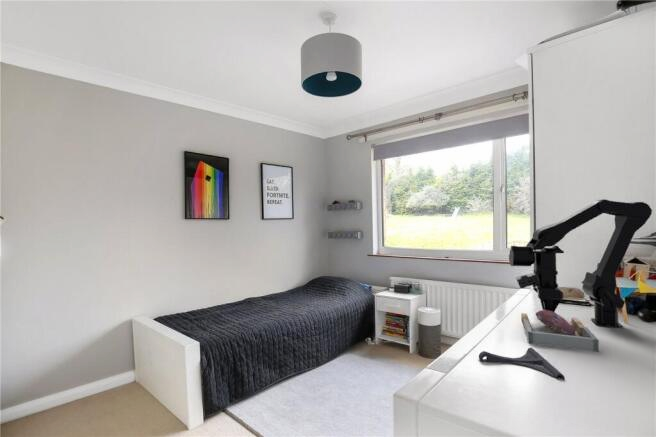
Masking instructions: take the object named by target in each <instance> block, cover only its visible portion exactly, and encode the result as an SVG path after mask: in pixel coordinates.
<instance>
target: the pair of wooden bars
mask: <svg viewBox="0 0 656 437" xmlns="http://www.w3.org/2000/svg"><path fill="white" fill-rule="evenodd" d="M520 316H521V319H520V320H521V323H522V327H523V330H524V331H525V323H524V321H528V322H529V324H530V325H531V322H530V319H529V316H528V314H527V313H524V312H521V315H520ZM571 325H572V326H573V327H574V328H575V330H576V332H575V333H577V334H578V335H579V337H583V327H586V326H585V325H584V324H583V323H582V322H581V321H580V319H579V318H578V317H571Z"/></svg>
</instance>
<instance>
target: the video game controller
mask: <svg viewBox="0 0 656 437" xmlns="http://www.w3.org/2000/svg"><path fill="white" fill-rule="evenodd" d="M535 316H536V318H537V320H538V321H540V322H541V323H543V325H544V326H545V327H546V328H547V329H553V331H555V332H556V333H559V332H561V331H563V332H564V333H566V334H568V335H575V334H576V333H577V332H576V330H575V328H574V327H573V326H572V324H570V323H569V322H568V321H567V320H566V319H565V318H564V317H563V316H561V315H560V314H557V313H556V312H553V311H550V310H544V309H542V310H539V311H537V312H535Z"/></svg>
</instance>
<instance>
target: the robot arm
mask: <svg viewBox="0 0 656 437" xmlns="http://www.w3.org/2000/svg"><path fill="white" fill-rule="evenodd" d="M603 214H606V215H610V216H614V227H615V228H614V230H613V233H612V235H611V237H610V239H609V241H608V244H607V246H606V248H605V250H604V252H603V254H602V256H601V259H600V262H599V264H598V266H597V268H596V270H594V271H592V272H589V271H587V272H585V275H584V279H583V280H582V281H581V284H582V290H583V292H584V293H585V295H586V296H588V297H589V300H590V301H591V302H594V303H593V305H594V307H593V308H594V310H593V311H594V318H593V317H591V318H590V320H591V321H592V322H593V323H594V324H595V325H596V326H602V327H610V328H611V327H612V328H622V329H623V328H624V325H622V324H621V323H620V322H619V309H623V308H624V305H625V304H626V303H625V302H626V301H625V300H624V299H623V298H621V296H619V295H618V294H617V293H616V290H617V273H618V271H619V269H620V266H621V265H622V262H623V259H624V258H625V255H626V253H627V250H629V246H630V244H631V242H632V239H633V237H634V236H635V234H636V232H637V231H639V229H641V228H642V227H643V226H644V225H646V223H647V222H648V220H649V219H650V218H651V215H652V214H653V210H652V208H651V206H650V205H649V204H648V203H646V202H643V201H635V202H634V201H633V202H631V201H630V202H625V201H624V202H621V201H615V200H608V199H605V198H604V199H596V200H594V201H592V202H591V203H590V204H588V205H587V206H585V207H583V208H581V209H579V210H577V211H576V212H574V213H572V214H569V215H568V216H567V217H565V218H563V219H562V220H560V221H558V222H554V223H552V224H549V225H546V226H545V225H544V226H542V227H540V228H537V229H536V230H534V231H533V233H532V238H531V239H530V240H529V241H528V242H527V244H526V245H524V246H520V245H518V246H517V245H510V250H509V254H508V261H509V265H510V266H511V267H532V265H534V264H535V267H534V268H533V273H526V274H522V275H520V276H516V277H515V279H516V282H517V284H518V287H519V289H525V288H527V287H531V286H532V290H534V291H535V292H536V293H537V297H538V299H539V300H540V304H541V308H542V310H543V309H544V310H550V311H553V312H555V311H556V310H557V307H558V306H559V305H560V303H561V301H562V300H564V293H563V291H562V290H561V289H560V288H559V284H558V280H557V279H558V278H557V275H558V274H559V272H558V270H557V254H564V253H565V251H564V250H562V249H561V248H560V247H559V246H558V245H557V244H558V243H559V242H561V241H562V240H563V239H564V238H565V236H566V235H567V234H569V233H570V232H571V231H573V230H576V229H577V228H578V227H579V228H580V227H581V226H582V225H584V224H586V223H588V222H589V221H592V220H594V219H595V218H597V217H599V216H601V215H603ZM555 313H556V312H555Z"/></svg>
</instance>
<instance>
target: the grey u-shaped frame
mask: <svg viewBox="0 0 656 437" xmlns="http://www.w3.org/2000/svg"><path fill="white" fill-rule="evenodd" d="M524 323H525V330H524V333H525V336H526V338H527V342H528V344H531V345H532V344H533V345H534V344H535V345H542V346H550V347H556V348H566V349H571V350H573V349H574V350H580V351H587V352H588V351H590V352H595V353H596V352H598V353H599V338H598V337H596V335H594V333H593V332H592V331H591V330H590V329H589V328H588V326H585V327H583V337H581V336H578V335H571V334H568V335H567V334H559V333H550V332H543V331H533V330H532V327H531V323H530V324H529V322H528V321H524Z"/></svg>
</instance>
